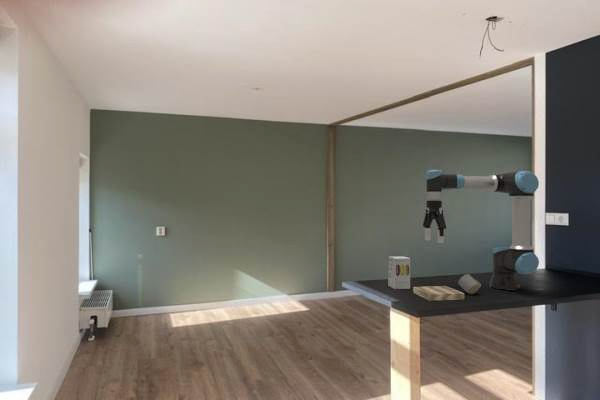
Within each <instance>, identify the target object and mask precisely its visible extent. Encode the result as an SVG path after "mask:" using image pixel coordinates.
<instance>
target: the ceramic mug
mask: <svg viewBox="0 0 600 400" xmlns="http://www.w3.org/2000/svg"><path fill="white" fill-rule="evenodd" d="M457 282H458V284H457V285H459V286H460V288H461V289H463V290H464V291H465V292H466V293H467V294H469V295H474V294H476V293H477V292H478V290H479V289H480V288H481V286H482V284H481V282H480V281H478V280H477V279H474V277H472V275H471V274H469V273H467V274H464V275H463V276H461V277H460V278H459V279H458V281H457Z"/></svg>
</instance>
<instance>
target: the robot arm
mask: <svg viewBox="0 0 600 400" xmlns="http://www.w3.org/2000/svg"><path fill="white" fill-rule="evenodd" d="M425 180H426V181H425V182H426V194H425V195H426V203H425V204H426V208H427V209H425V215H424V219H423V223H422V226H423V227H424V231H425V232H424V241H427V242H428V241H431V238H432V235H431V232H432V231H431V229H432V227H431V225H432V223H433V221H435V223H436V226H437V243H438V244H444V242H445V241H444V239H445V238H444V235H445V233H444V231H445V229H447V224H446V220H445V217H444V210H443V209H440V208H442V205H443V201H442V200H443V199H442V198H443V191H444V190H447V191H448V190H450V191H451V190H453V191H454V190H455V191H456V190H457V191H459V190H461V191H465V190H466V191H467V190H468V191H474V190H475V191H477V190H478V191H489V192H490V193H504V194H508V197H509V198H510V199H511V207H512V208H511V216H512V217H511V231H512V232H511V234H512V235H511V236H512V237H511V245H510V246H507V247H506V246H505V247H504V246H502V247H499V246H498V247H494V248H493V250H492V276H491V278H490V282H489V288H491V287H493V288H497V289H496V290H498V289H518V288H520V289H521V285H520V282H519V280H518V277H517V274H519V275H527V276H529V275H531V274H534V273H535V271H537V270H538V268H539V265H540V261H539V257H538V256H537V255H536V254H535V248H534V247H533V246H532V245H531V200H532V199H533V198H534V194H535V192H536V191H537V190H538V189H539V185H540V184H539V183H540V181H539V179H538V176H537V175H535V173H533V172H532V171H528V170H519V171H513V172H512V171H511V172H507V173H499V174H491V175H489V176H483V175H480V176H479V175H478V176H477V175H475V176H473V175H471V176H470V175H463V174H457V173H455V174H451V173H450V174H449V173H448V174H446V173H443V171H442V169H430V170H429V169H428V170H427V172H426V178H425ZM442 190H443V191H442ZM493 288H492V289H493Z"/></svg>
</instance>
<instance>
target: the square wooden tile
mask: <svg viewBox="0 0 600 400" xmlns="http://www.w3.org/2000/svg"><path fill="white" fill-rule="evenodd" d="M412 291H413V294H415V295H417V296H419V297H421V298H423V299H425V300H427V301H429V302H431V301H432V302H435V301H456V300H458V301H459V300H465V292H462V291H460V290H457V289H455V288H451V287H450V286H447V285H436V286H435V285H433V286H432V285H431V286H428V285H427V286H413V287H412Z"/></svg>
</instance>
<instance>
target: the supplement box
mask: <svg viewBox="0 0 600 400" xmlns="http://www.w3.org/2000/svg"><path fill="white" fill-rule="evenodd" d="M387 265H388V267H387V268H388V269H387V271H388V276H387V281H388V282H387V283H388V284H387V285H388V287H390V288H392V289H393V290H407V289H408V290H409V289H411V258H410V257H407V256H400V255H399V256H390V255H389V256H388V264H387Z"/></svg>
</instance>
